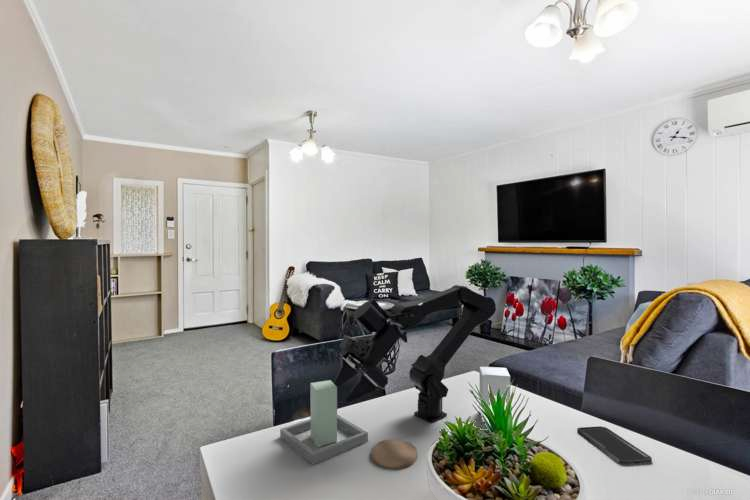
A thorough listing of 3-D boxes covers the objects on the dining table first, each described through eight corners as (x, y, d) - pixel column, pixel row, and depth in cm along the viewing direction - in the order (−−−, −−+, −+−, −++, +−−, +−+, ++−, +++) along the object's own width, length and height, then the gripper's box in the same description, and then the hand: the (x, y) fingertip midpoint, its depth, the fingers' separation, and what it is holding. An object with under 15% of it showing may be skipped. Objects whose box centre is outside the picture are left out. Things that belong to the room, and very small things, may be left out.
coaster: (395, 439, 90) (395, 434, 90) (426, 456, 82) (426, 452, 82) (362, 454, 84) (362, 449, 84) (393, 474, 76) (393, 469, 76)
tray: (332, 419, 101) (332, 411, 101) (367, 441, 89) (367, 432, 89) (280, 437, 91) (280, 429, 91) (312, 464, 79) (312, 455, 79)
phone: (604, 426, 95) (654, 459, 80) (604, 430, 95) (654, 464, 80) (574, 427, 94) (620, 461, 79) (574, 432, 94) (620, 467, 79)
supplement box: (511, 425, 97) (511, 376, 97) (481, 422, 98) (481, 374, 98) (506, 413, 104) (506, 367, 104) (479, 410, 106) (479, 365, 106)
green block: (330, 432, 93) (330, 380, 93) (337, 441, 89) (337, 386, 89) (310, 436, 91) (310, 383, 91) (316, 446, 87) (316, 390, 87)
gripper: (346, 317, 102) (306, 363, 98) (376, 331, 85) (329, 387, 81) (372, 343, 106) (335, 389, 101) (406, 361, 89) (363, 417, 84)
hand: (339, 394), depth 92 cm, fingers open, 9 cm apart
